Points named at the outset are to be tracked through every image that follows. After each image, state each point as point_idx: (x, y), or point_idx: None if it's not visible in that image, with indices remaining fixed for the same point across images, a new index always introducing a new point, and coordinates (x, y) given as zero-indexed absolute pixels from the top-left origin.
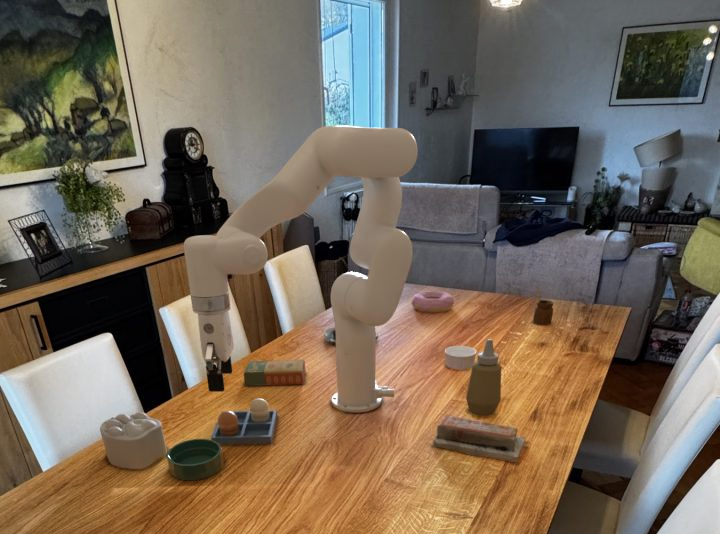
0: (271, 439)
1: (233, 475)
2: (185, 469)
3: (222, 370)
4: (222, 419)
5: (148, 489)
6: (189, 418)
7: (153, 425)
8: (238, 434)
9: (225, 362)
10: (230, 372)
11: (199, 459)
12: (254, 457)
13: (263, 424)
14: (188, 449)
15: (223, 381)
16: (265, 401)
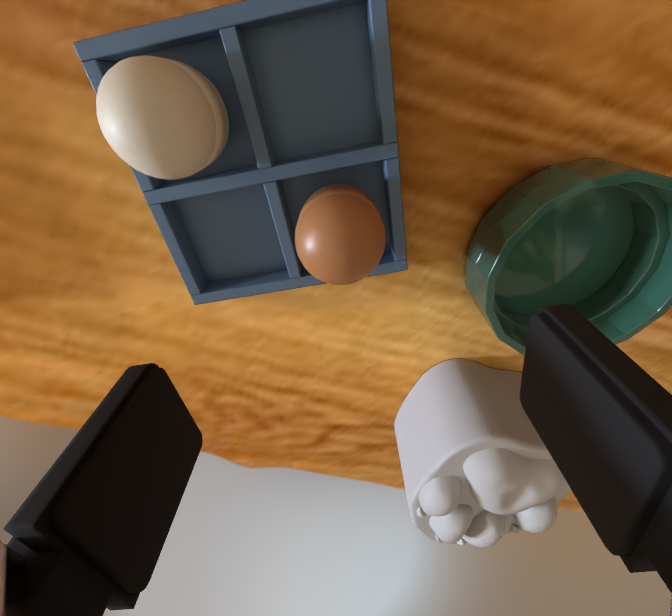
0: None
1: (637, 93)
2: None
3: (180, 436)
4: (379, 258)
5: (640, 333)
6: (235, 379)
7: (503, 454)
8: (319, 187)
9: (124, 485)
10: (158, 374)
11: (511, 261)
12: (500, 41)
13: (247, 74)
14: (497, 310)
15: (609, 359)
16: (121, 75)
